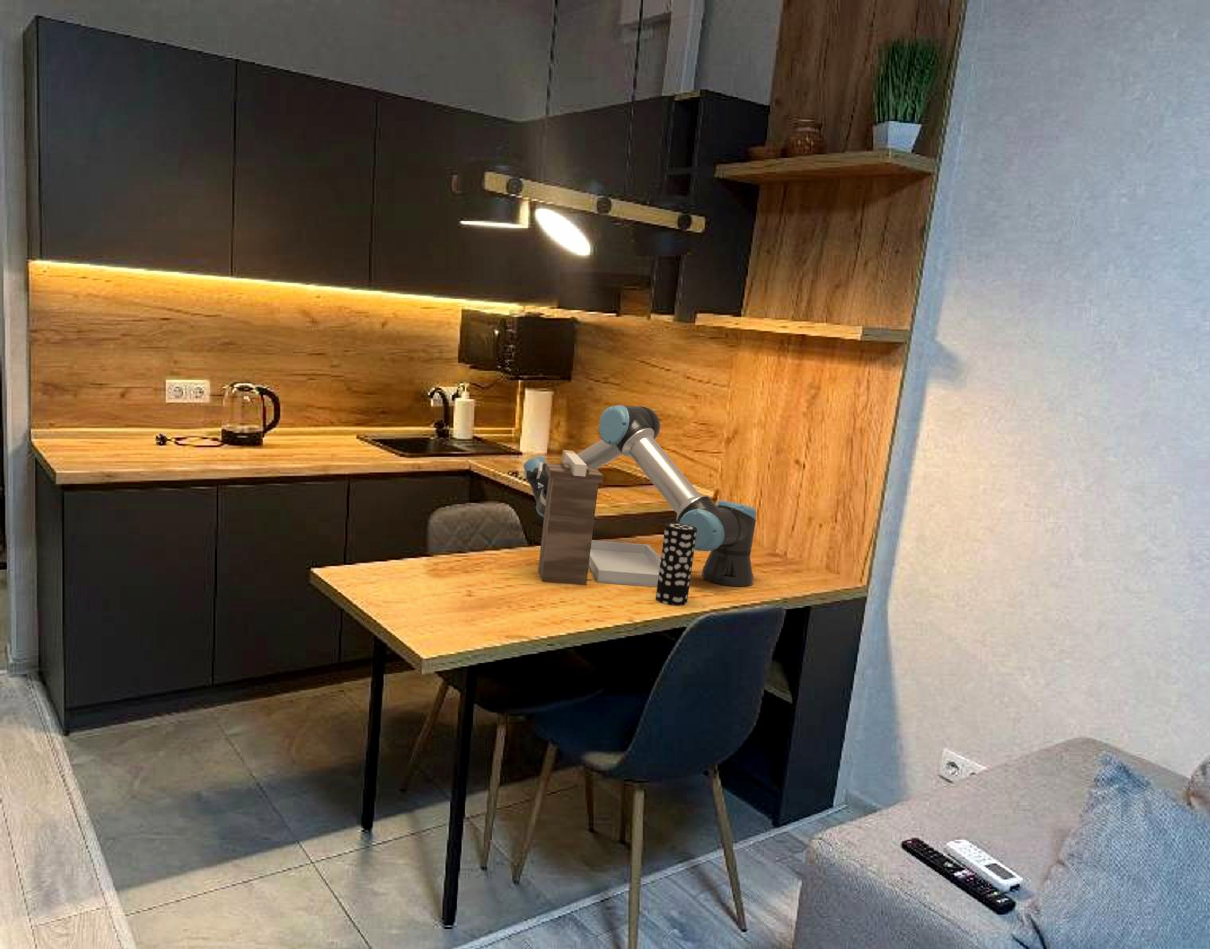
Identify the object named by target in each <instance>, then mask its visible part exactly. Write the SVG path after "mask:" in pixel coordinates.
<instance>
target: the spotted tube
mask: <svg viewBox="0 0 1210 949" xmlns="http://www.w3.org/2000/svg"><path fill="white" fill-rule="evenodd" d="M663 532H664V534H663V540H662V548H661V554H660V555H661V556H660V558H661V561H660V569H659V576H658V584H657V587H656V592H655V593H656V594H655V600H656V601H657V602H659V603H660V604H665V605H669V606H677V607H679V606H680V607H681V606H686V605H687V604H688V598H689V593H690V592H689V591H690V583H691V576H692V572H693V571H692V570H693V569H692V568H693V562H694V561H693V560H694V556H695V555H694V554H695V550H694V549H695V541H696V534H697V528H696V527H694V526H690V525H686V524H679V523H676V522H667V523H665V525H664V531H663Z"/></svg>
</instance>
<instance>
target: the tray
mask: <svg viewBox="0 0 1210 949" xmlns="http://www.w3.org/2000/svg"><path fill="white" fill-rule="evenodd" d="M660 561H661V556H660V555H659V554H657V552H656V551H655V550H654V549H653V548H652V547H651V545H650V544H646V543H643V544H642V543H635V542H634V543H632V542H631V543H630V542H620V541H610V540H596V539H592V542H591V551H590V559H589V567H588V570H590V572H591V574H592V575H593V578H594V579H595V581H596V583H598V584H609V585H610V584H611V585H623V586H636V587H649V588H650V587H651V588H657V584H658V576H659V569H660Z"/></svg>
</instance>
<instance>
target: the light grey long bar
mask: <svg viewBox="0 0 1210 949" xmlns="http://www.w3.org/2000/svg"><path fill="white" fill-rule="evenodd" d="M577 454H578V453H576V452H575V451H574V450H570V449H569V450H567V449H566V450H565V449H562V454H561V455H562V456H561V461H565V462H566V464H567V465H568V466H569V467H570V471H571V472H572V474H573V475H574V476H584V477H585V476H586V468H587V465H586V464H585V463H584V462H583V461H582V460H581V459H580V458H579V456H578V455H577Z"/></svg>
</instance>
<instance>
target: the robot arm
mask: <svg viewBox="0 0 1210 949" xmlns="http://www.w3.org/2000/svg"><path fill="white" fill-rule="evenodd" d="M598 424H599V426H598V433H599V436H600V438H601V440H599V441H597V442H595V443H594V444H592V445H590V446H589V447H587V448H584V450H581V451H580V452H578V453H576V454H577V455H578V456H579V458H580V459H581V460H582V461H583V462H584V463H585V464H586V465H587V468H596V469H597V470H599V468H601V467H603V466H605V465H607V464H608V463H610V462H612V461H613V460H615V459H617V458H619V457H621V456H622V455H623V456H624V457H626V458H627V457H630V458H632V460H633V461H634V462H635V463H636V465H637V466H638V467H639V468H640V470H641V471H642V472H643V474H644V475H645V476H646V478H648V479H649V481H650V482H651V483H652V485H654V487H655V489H656V490H657V491H658V492H659V493H660V495H661V496H662V497H663V498H664V500H666V502H667V503H668V504H669V505H670V507H671V509H672V510H674V512H675V514H677V515H676V519H675V520H676V522H677V523H679V524H686V525H690V526H694V527H696V528H697V534H696V541H695V549H694V551H697V552H698V551H699V552H710V553H709V555H708V557H706V558H707V559H706V561H705V564H704V566H702V569H701V577H702V579H705V581H708V582H710V583H711V582H712V583H715V584H719V585H723V586H730V587H749V586H752V585H753V582H754V574H753V567H752V562H751V561H752V560H751V556H752V555H751V552H752V548H753V547H752V546H753V541H754V534H755V528H756V522H757V510H756V508H755V507H753V506H750V505H747V504H743V503H738V502H734V501H733V502H732V501H728V500H718V502H717V504H716V503H715V502H713V500H712V499H711V497H710V496H709V495H707V494H706V495H705V494H704V495H703V494H702V495H701V494H700V493H699V492H698V490H697V489H696V488H695V487H694V485H693V484H692V483H691V482H690V481H689V479H688V478H687V477H686V476H685V475H684V474H683V472H682V471H681V470H680V468H679V467H678V466H677V465H676V464H675V463H674V461H673V460H672V459H671V458H670V457H669V455H668V454H667V453H666V452H665V451H664V449H663V448H662V447H661V446H660V444H658V442H657V441H656V439H657V438H658V435H659V434H660V430H661V422H660V418H659V416H658V414H657V412H655V411H654V410H653V409H652V408H650V407H647V406H635V405H623V404H618V405H611V406H609V407H607V408H606V409H605V410H604V411H603V412H602V414H601V415H600V418H599V422H598ZM546 464H547V461H546V459H545V458H544V457H542V456H541V455H540V456H539V455H538V456H534V457H532V458H529V459H527V460H526V461H525V462H524V464H523V470H524V473H525V477H526V478H525V480H527V481H528V483H529V486H530V488H531V491H532V494H533V496H534V500H535V502H536V505H535V509H536V512H537V514H538V515H539V516H540V517H543V518H544V513H545V504H546V496H547V487H548V478H549V476H548V474H547V472H546V471H545V470H546ZM554 464H555V465H560V463H554Z"/></svg>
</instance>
